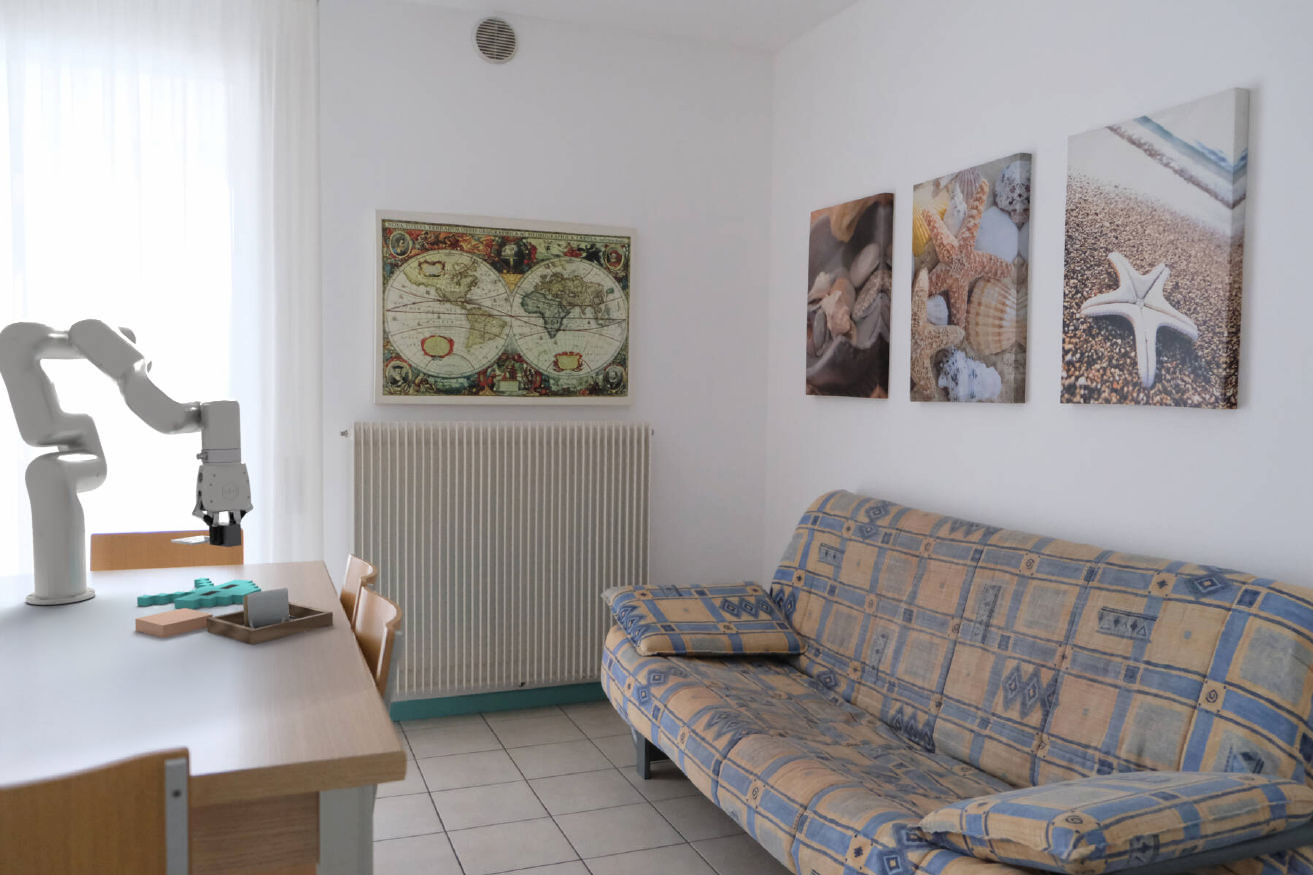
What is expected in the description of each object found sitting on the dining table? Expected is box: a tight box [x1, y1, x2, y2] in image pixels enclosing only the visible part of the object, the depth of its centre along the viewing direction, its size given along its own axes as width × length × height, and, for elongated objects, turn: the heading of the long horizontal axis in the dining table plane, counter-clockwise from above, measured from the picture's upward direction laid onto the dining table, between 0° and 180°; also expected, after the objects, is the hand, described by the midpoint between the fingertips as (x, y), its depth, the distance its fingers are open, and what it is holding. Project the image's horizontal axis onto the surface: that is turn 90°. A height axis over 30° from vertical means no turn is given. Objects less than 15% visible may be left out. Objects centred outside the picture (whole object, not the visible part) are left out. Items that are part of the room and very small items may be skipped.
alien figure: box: [136, 577, 262, 610], centre depth 208 cm, size 20×2×20 cm
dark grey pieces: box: [170, 521, 243, 548], centre depth 206 cm, size 19×7×4 cm, turn 55°
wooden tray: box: [206, 601, 334, 645], centre depth 183 cm, size 15×17×2 cm
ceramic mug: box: [242, 587, 290, 629], centre depth 181 cm, size 11×8×8 cm
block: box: [134, 608, 214, 639], centre depth 183 cm, size 3×10×9 cm
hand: (224, 542), depth 202 cm, fingers closed on dark grey pieces, 3 cm apart
